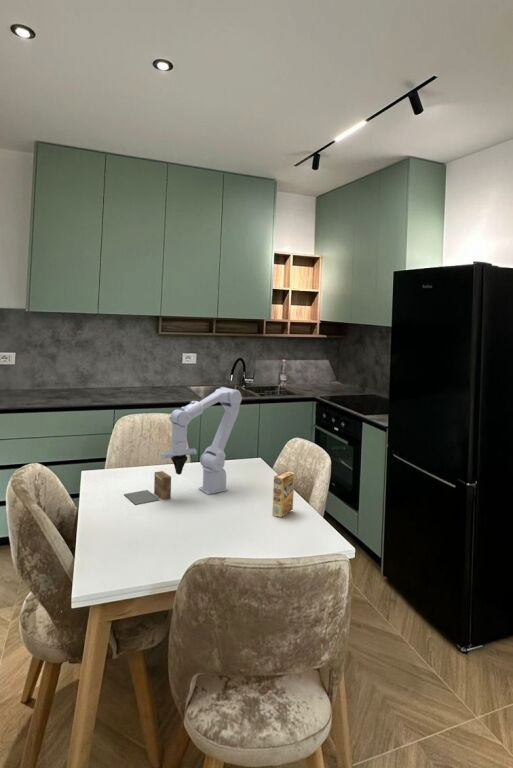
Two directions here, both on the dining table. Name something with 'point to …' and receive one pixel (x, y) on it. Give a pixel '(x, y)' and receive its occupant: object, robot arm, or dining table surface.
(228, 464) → the dining table surface
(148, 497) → the rubber mat
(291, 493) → the candy box
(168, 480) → the walnut slab
